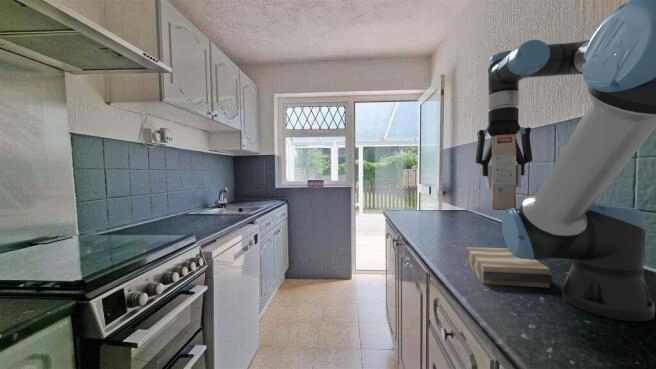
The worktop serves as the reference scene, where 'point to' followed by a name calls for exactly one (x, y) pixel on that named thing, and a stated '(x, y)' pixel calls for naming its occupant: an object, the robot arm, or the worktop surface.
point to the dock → (506, 268)
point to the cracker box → (503, 172)
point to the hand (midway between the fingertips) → (502, 187)
